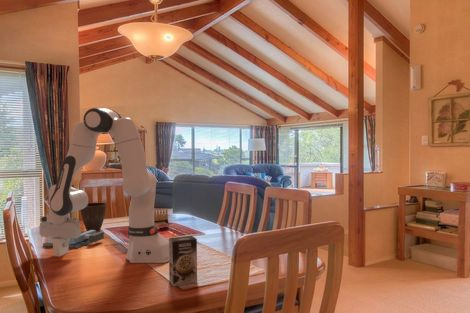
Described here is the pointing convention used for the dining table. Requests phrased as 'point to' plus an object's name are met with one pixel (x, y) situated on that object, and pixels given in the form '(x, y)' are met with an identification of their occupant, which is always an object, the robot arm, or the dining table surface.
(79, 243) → the vise bed
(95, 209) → the plant pot
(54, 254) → the block
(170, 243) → the coffee box
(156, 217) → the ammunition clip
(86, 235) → the vise jaw
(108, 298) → the dining table surface
